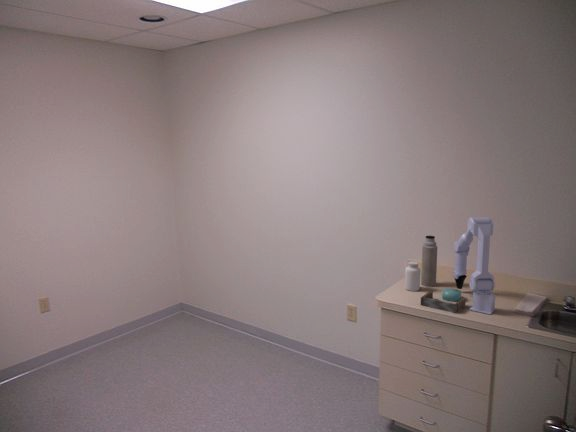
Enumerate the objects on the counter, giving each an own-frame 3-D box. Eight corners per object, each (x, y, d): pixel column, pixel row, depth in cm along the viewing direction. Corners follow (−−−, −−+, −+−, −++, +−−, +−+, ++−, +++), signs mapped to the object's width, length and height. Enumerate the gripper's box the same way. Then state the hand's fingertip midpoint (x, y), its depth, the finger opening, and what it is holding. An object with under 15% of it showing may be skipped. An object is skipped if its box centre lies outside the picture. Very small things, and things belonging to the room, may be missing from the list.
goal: (465, 305, 206) (465, 297, 206) (456, 313, 197) (457, 305, 196) (430, 298, 217) (430, 290, 217) (420, 305, 208) (420, 297, 207)
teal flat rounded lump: (462, 298, 218) (463, 290, 217) (458, 302, 210) (459, 295, 210) (444, 294, 223) (445, 287, 222) (440, 299, 215) (440, 291, 215)
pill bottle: (420, 291, 227) (421, 264, 225) (405, 291, 229) (405, 264, 227) (419, 287, 235) (419, 261, 233) (404, 286, 237) (404, 260, 234)
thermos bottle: (427, 281, 245) (428, 234, 240) (438, 284, 238) (440, 236, 234) (418, 284, 240) (419, 235, 236) (429, 287, 234) (431, 238, 229)
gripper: (457, 259, 231) (456, 283, 233) (448, 265, 220) (447, 290, 222) (470, 261, 227) (469, 286, 229) (462, 267, 216) (460, 293, 218)
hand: (459, 288), depth 225 cm, fingers closed
